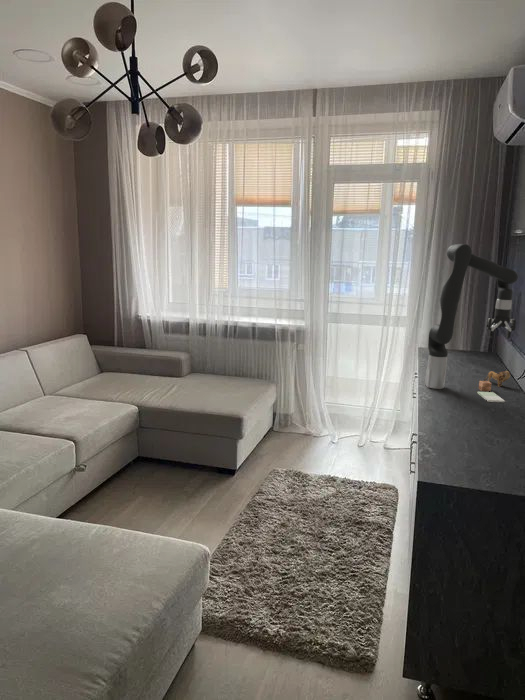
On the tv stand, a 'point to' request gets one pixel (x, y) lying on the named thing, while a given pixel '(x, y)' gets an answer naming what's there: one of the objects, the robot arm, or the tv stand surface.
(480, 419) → the tv stand surface
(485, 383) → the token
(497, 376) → the lion figurine
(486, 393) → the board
